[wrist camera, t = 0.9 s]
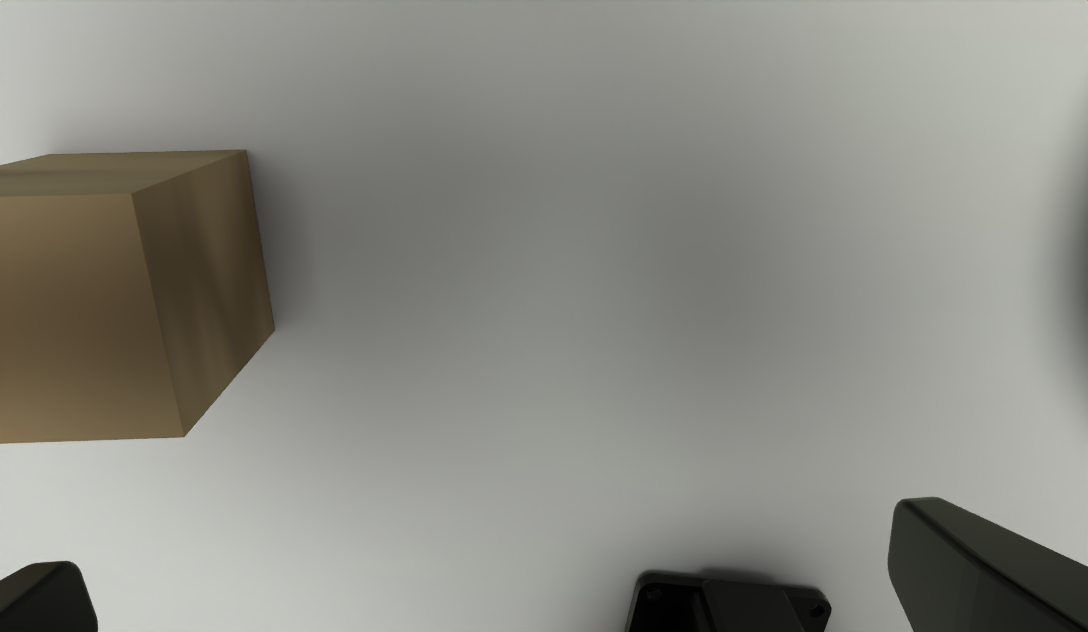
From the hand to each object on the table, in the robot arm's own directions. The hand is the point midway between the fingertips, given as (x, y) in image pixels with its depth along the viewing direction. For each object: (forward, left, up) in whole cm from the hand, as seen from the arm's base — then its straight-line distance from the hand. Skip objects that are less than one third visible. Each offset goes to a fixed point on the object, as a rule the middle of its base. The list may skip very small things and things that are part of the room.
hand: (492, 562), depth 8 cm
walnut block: (-1, +9, -13) cm, 16 cm away
